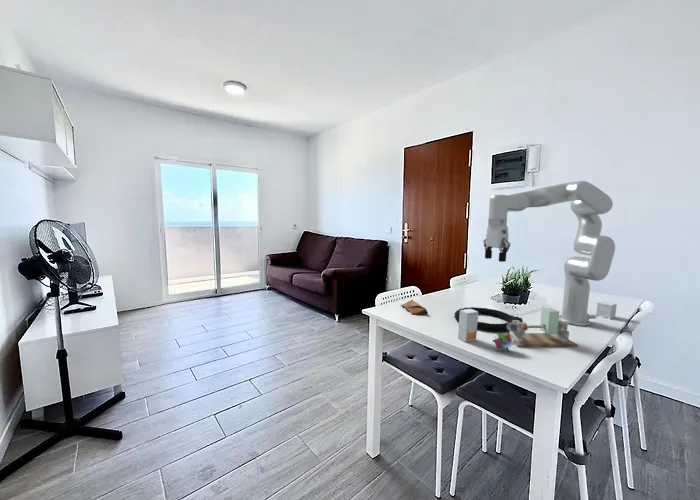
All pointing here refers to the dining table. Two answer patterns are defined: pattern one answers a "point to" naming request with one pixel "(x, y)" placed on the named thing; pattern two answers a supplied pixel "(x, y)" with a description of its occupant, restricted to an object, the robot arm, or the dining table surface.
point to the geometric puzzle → (503, 341)
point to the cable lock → (495, 314)
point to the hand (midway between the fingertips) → (494, 259)
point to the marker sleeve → (549, 320)
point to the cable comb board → (539, 335)
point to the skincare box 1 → (468, 325)
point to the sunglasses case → (414, 308)
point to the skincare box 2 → (606, 309)
